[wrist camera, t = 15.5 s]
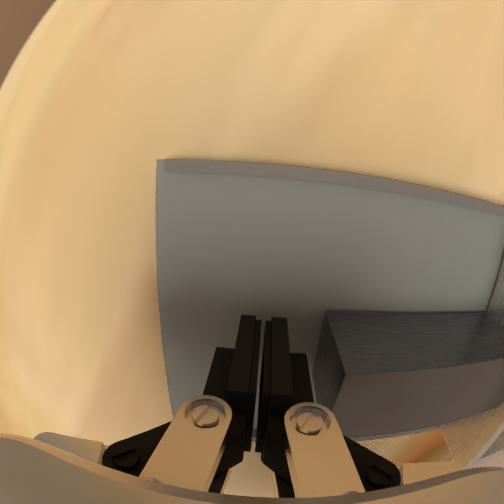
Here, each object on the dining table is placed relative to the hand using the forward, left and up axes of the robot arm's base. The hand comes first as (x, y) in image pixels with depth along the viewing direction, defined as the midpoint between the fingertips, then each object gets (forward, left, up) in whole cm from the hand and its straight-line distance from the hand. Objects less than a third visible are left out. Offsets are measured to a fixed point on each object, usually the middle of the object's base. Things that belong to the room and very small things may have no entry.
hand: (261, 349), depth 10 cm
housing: (0, -11, -1) cm, 11 cm away
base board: (0, -9, -2) cm, 9 cm away
